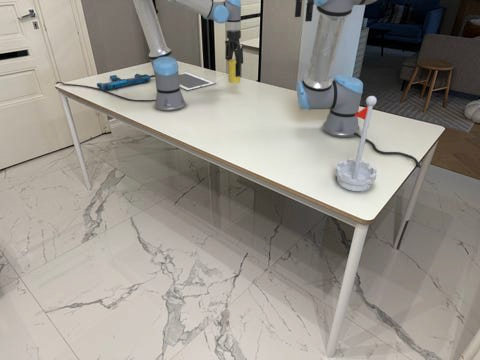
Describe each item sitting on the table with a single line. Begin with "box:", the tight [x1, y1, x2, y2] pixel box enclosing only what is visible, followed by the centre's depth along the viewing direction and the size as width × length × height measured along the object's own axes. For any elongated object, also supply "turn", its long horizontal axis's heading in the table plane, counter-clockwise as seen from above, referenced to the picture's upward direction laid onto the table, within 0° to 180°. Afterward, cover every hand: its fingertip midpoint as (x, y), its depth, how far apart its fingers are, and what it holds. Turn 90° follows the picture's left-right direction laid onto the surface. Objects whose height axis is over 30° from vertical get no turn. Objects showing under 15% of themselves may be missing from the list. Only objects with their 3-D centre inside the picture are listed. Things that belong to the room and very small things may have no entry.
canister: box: [227, 58, 241, 84], centre depth 188 cm, size 6×6×12 cm
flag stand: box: [334, 95, 378, 192], centre depth 107 cm, size 13×13×30 cm
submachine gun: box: [96, 73, 155, 91], centre depth 208 cm, size 34×4×25 cm
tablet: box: [179, 71, 216, 91], centre depth 211 cm, size 32×20×1 cm, turn 41°
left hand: (234, 74), depth 189 cm, fingers closed on canister, 6 cm apart
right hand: (302, 19), depth 155 cm, fingers open, 13 cm apart
